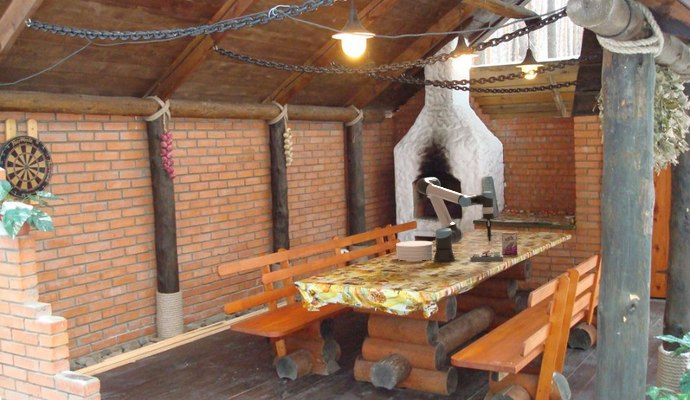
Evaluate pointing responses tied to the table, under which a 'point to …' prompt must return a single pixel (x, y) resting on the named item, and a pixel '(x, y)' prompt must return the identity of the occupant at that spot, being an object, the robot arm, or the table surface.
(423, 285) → the table surface
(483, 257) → the panel
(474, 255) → the cream rounded ball
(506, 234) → the candy bar box
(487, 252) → the rocker
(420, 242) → the plate stack
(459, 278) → the table surface
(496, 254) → the pale green cube
